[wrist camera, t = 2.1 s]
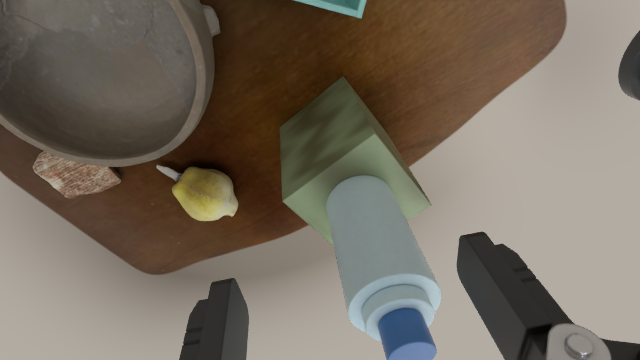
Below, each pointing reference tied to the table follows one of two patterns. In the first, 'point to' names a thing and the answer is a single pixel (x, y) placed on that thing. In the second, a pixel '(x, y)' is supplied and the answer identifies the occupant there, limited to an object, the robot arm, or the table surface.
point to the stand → (340, 156)
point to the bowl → (105, 76)
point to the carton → (339, 6)
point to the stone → (74, 175)
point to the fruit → (203, 192)
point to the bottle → (382, 268)
